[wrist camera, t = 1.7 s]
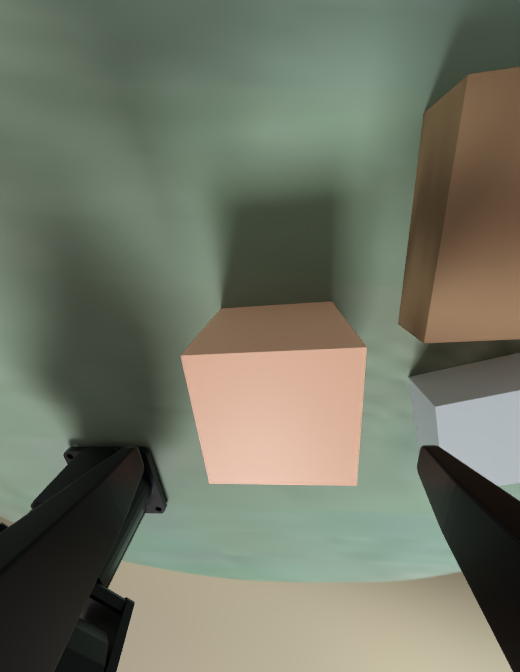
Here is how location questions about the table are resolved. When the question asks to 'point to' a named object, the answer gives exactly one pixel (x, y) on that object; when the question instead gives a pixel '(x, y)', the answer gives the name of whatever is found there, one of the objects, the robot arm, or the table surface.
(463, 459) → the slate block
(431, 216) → the walnut block
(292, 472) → the terracotta block
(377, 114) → the table surface
